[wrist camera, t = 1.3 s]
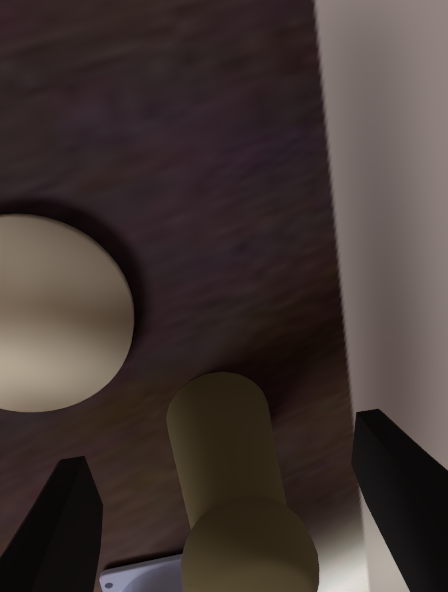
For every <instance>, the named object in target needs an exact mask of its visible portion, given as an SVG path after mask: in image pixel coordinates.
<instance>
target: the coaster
mask: <svg viewBox="0 0 448 592" xmlns="http://www.w3.org/2000/svg"><path fill="white" fill-rule="evenodd" d="M133 328H134V304H133V298H132V295H131V291H130V287H129V285H128V283H127V280H126V278H125V276H124V274H123V273H122V271H121V269H120V268H119V266H118V264H117V263H116V262H115V261H114V259H113V258H112V257H111V255H110V254H109V253H108V252H107V251H106V250H105V249H104V248H103V247H102V246H101V245H100V244H98V243H97V242H96V241H95V240H93V239H92V238H91V237H89V236H88V235H86V234H85V233H83V232H81V231H80V230H78V229H76V228H74V227H72V226H70V225H68V224H66V223H63V222H61V221H58V220H54V219H51V218H48V217H43V216H38V215H32V214H1V215H0V408H1V409H6V410H11V411H20V412H43V411H51V410H56V409H61V408H65V407H68V406H71V405H74V404H76V403H79V402H81V401H83V400H85V399H87V398H89V397H90V396H92V395H93V394H95V393H97V392H98V391H99V390H101V389H102V388H103V387H104V386H105V385H107V384H108V383H109V382H110V380H111V379H112V378H113V377H114V376H115V375H116V374H117V372H118V371H119V369H120V368H121V366H122V365H123V363H124V361H125V359H126V357H127V354H128V351H129V348H130V345H131V341H132V335H133Z"/></svg>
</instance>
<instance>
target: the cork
mask: <svg viewBox="0 0 448 592" xmlns="http://www.w3.org/2000/svg"><path fill="white" fill-rule="evenodd" d="M166 420H167V427H168V433H169V437H170V441H171V446H172V450H173V454H174V459H175V463H176V467H177V472H178V476H179V480H180V485H181V489H182V493H183V498H184V502H185V506H186V511H187V515H188V519H189V524H190V528H191V531H190V532H189V533H188V535H187V539H186V542H185V546H184V549H183V554H182V559H181V563H180V569H181V584H182V590H183V592H317V590H318V585H319V562H318V554H317V551H316V548H315V546H314V543H313V541H312V539H311V536H310V534H309V532H308V530H307V528H306V526H305V524H304V523H303V522H302V520H301V519H300V518H299V516H298V515H297V514H296V513H295V512H294V511H292V510H291V509H290V508H289V507H288V506H287V504H286V498H285V493H284V488H283V482H282V477H281V472H280V466H279V461H278V455H277V450H276V445H275V439H274V434H273V429H272V423H271V418H270V412H269V407H268V402H267V400H266V398H265V396H264V393H263V391H262V390H261V389H260V388H259V387H258V386H257V385H256V384H255V383H254V382H253V381H252V380H250V379H248V378H246V377H244V376H242V375H240V374H236V373H229V372H216V373H209V374H204V375H202V376H200V377H198V378H195V379H193V380H191V381H189V382H188V383H187V384H186V385H184V386H183V387H182V388H181V389H180V390H178V391H177V393H176V394H175V396H174V398H173V399H172V401H171V402H170V404H169V408H168V412H167V417H166Z"/></svg>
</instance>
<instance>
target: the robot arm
mask: <svg viewBox="0 0 448 592" xmlns="http://www.w3.org/2000/svg"><path fill="white" fill-rule="evenodd" d="M351 464H352V466H353V469H354V472H355V475H356V478H357V480H358V483H359V486H360V489H361V491H362V494H363V496H364V499H365V502H366V504H367V506H368V508H369V510H370V512H371V514H372V516H373V518H374V520H375V522H376V524H377V526H378V528H379V530H380V532H381V534H382V536H383V538H384V540H385V542H386V544H387V546H388V548H389V550H390V552H391V554H392V556H393V558H394V560H395V562H396V564H397V566H398V568H399V570H400V572H401V574H402V576H403V578H404V580H405V582H406V584H407V586H408V588H409V590H410V592H448V470H447V469H445V468H444V467H443V466H442V465H441V464H439V463H438V462H437V461H436V460H435V459H434V458H432V457H431V456H430V455H429V454H428V453H427V452H426V451H424V450H423V449H422V448H421V447H420V446H419V445H418V444H417V443H416V442H414V441H413V440H412V439H411V438H410V437H409V436H408V435H407V434H406V433H404V431H402V430H401V429H400V428H399V427H398V426H397V425H396V424H395V423H394V422H393V421H392V420H391V419H389V418H388V417H387V416H386V415H385V414H384V413H383V412H382V411H381V410H379V409H374V410H368V411H361V412H356V421H355V432H354V442H353V452H352V463H351ZM102 516H103V504H102V501H101V498H100V496H99V493H98V490H97V488H96V485H95V483H94V480H93V477H92V475H91V472H90V469H89V467H88V464H87V461H86V459H85V456H80V457H74V458H68V459H62V460H60V461H59V462H58V463H57V465H56V466H55V468H54V470H53V472H52V473H51V475H50V477H49V479H48V480H47V482H46V484H45V486H44V487H43V489H42V491H41V493H40V494H39V496H38V498H37V499H36V501H35V503H34V504H33V506H32V508H31V509H30V511H29V513H28V514H27V516H26V518H25V519H24V521H23V522H22V524H21V526H20V527H19V529H18V530H17V532H16V534H15V535H14V537H13V538H12V540H11V542H10V543H9V545H8V546H7V548H6V549H5V551H4V552H3V554H2V556H1V557H0V592H93V590H94V584H95V578H96V572H97V566H98V560H99V554H100V547H101V533H102ZM181 559H182V554H179V555H174V556H170V557H165V558H160V559H155V560H150V561H146V562H141V563H136V564H131V565H126V566H122V567H117V568H112V569H107V570H104V571H103V572H101V574H100V584H101V587H102V591H103V592H183V590H182V584H181V569H180V563H181Z"/></svg>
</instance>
